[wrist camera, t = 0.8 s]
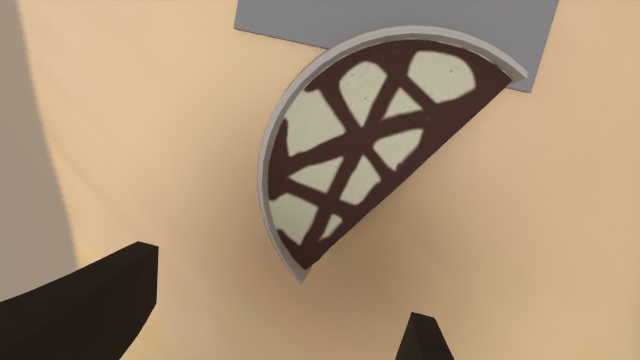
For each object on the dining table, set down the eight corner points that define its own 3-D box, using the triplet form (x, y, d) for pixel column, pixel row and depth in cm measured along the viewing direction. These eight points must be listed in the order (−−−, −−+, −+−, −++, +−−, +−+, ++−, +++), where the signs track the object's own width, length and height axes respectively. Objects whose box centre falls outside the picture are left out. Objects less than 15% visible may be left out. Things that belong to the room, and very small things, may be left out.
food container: (404, 1, 25) (415, -66, 16) (481, 81, 25) (541, 65, 16) (254, 155, 28) (182, 181, 18) (324, 228, 28) (291, 292, 18)
